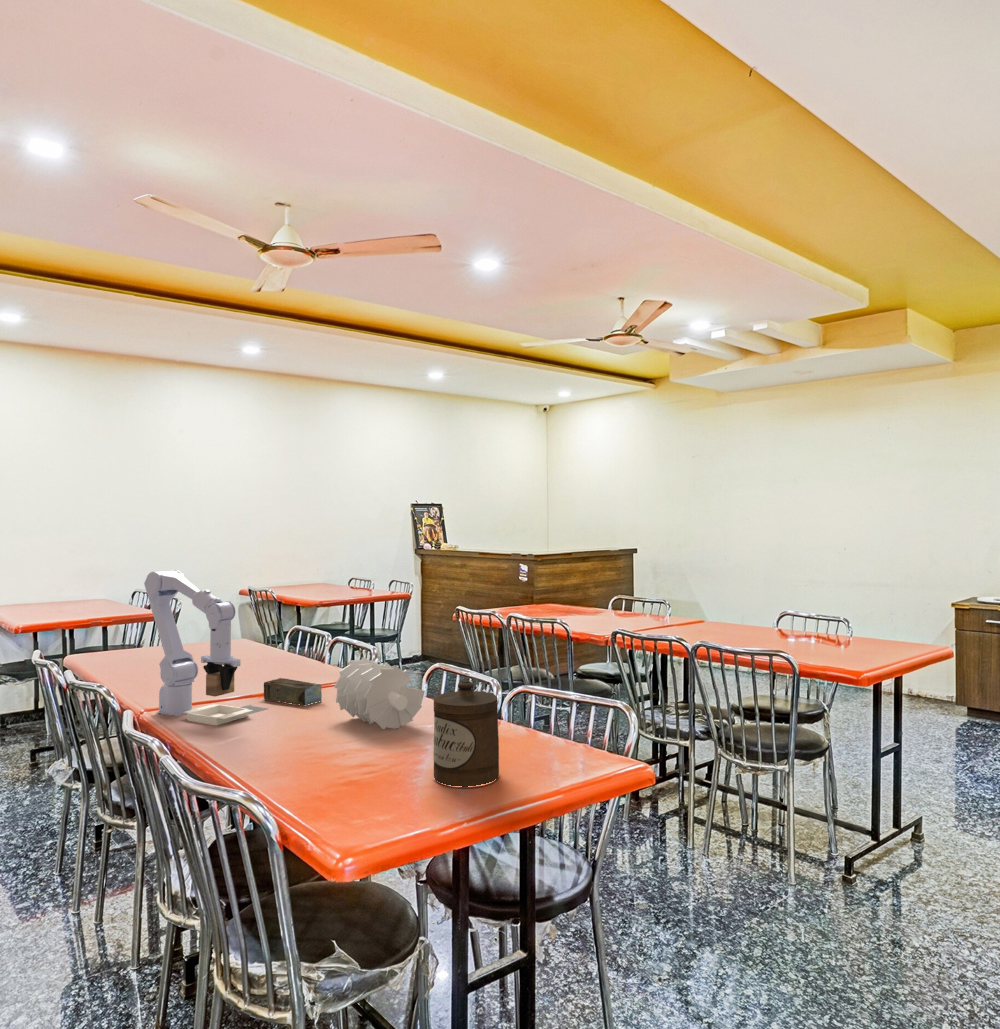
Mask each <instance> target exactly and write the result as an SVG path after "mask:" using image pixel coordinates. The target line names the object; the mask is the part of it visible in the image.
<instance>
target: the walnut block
mask: <svg viewBox="0 0 1000 1029" xmlns="http://www.w3.org/2000/svg"><path fill="white" fill-rule="evenodd" d="M231 693H235V674H234V675H233V677H232V680H231V684H230V688H229V689H228V690H222V686H221V676H220V672H216V673H211V674H207V673H206V675H205V695H206V696H210V697H219V696H223V695H228V694H231Z"/></svg>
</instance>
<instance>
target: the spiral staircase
mask: <svg viewBox="0 0 1000 1029" xmlns="http://www.w3.org/2000/svg"><path fill="white" fill-rule="evenodd" d="M338 672H339V674H340V675H339V677H338V679H337V681H336V683H335V684H334V686H333V688H335V689H336V698H335V703H336V704H339V705H338V706H339V709H340V711H343V710H345V711H346V712H347V713H348V714H349V715H350V716H351V717H352V718H355V716H356V717H358V719H360V720H361V721H362V722H364V723H366V722H368V723H369V724H370V725H372V724H373V723H376V724H377V725H378V727H380V729H382V731H384V730H385V729H386V728H389V729H396V728H399V729H400V727H403V726H404V725H406V724H409V723H411V722H413V721H414V719H413V718H415V716H417V713H419V711H420V710H421V708H422V707H423V706H422V702H423V700H424V696H425V691H426V690H424V689H417V688H413V687H408V686H407V685H409V684H410V683H412V681H411V678H410V676H409V673H408V671H407V669H405V670H402V669H401V668H399V667H398V666H397V665H395V664H394V665H393V666H391V665H390V664H389V663H388V662H387V661H386V662H385V663H384V662H381V663H380V664H379V663H378V662H376V661H375V660H372V659H370V660H369V659H368V658H366V657H364V656H362V658H361V659H354V660H353V659H352V660H349V664H348V665H347V666H345V667H343V668H342V669H340V670H339V671H338ZM365 721H366V722H365Z"/></svg>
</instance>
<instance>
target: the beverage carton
mask: <svg viewBox="0 0 1000 1029" xmlns="http://www.w3.org/2000/svg"><path fill="white" fill-rule="evenodd" d="M264 699H266V700H265V701H269V700H273V701H272V702H275V701H280V702H279V703H281V702H286V703H285V704H287V703H292V704H291V705H293V704H300V705H308V704H311V703H315V702H319V701H321V702H322V684H319V683H316V682H315V683H314V682H306V681H302V680H295V679H290V678H283V677H279V678H277V679H271V680H267V681H264V682H263V700H264ZM319 703H320V702H319Z"/></svg>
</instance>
